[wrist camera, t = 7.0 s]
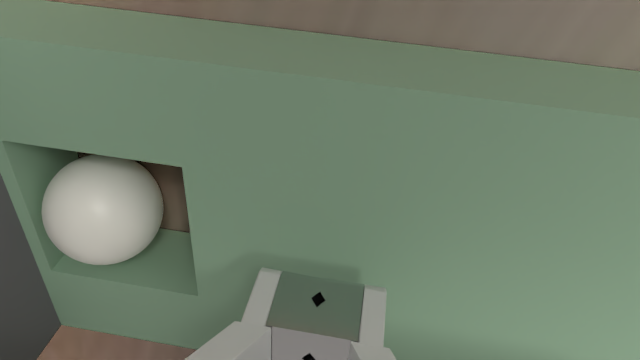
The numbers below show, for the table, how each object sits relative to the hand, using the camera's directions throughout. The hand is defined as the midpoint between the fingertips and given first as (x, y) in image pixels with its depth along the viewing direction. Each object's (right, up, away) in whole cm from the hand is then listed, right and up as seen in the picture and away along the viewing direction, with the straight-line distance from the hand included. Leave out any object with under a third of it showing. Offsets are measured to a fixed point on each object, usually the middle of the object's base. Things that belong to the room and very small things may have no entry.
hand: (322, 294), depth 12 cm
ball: (-6, +3, +4) cm, 7 cm away
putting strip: (+3, +2, +3) cm, 4 cm away
